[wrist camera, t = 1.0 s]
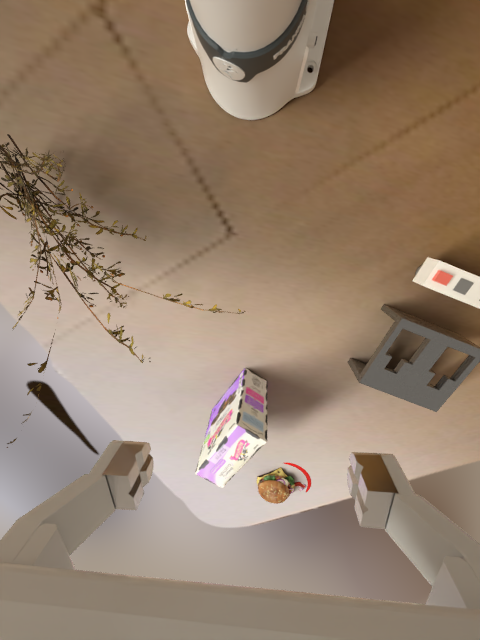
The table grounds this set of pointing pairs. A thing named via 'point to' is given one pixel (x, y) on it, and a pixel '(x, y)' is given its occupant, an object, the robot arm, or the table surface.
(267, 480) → the hamburger
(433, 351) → the grey stepped cutout plate
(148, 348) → the table surface
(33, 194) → the dried plant
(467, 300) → the power strip
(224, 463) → the candy box
